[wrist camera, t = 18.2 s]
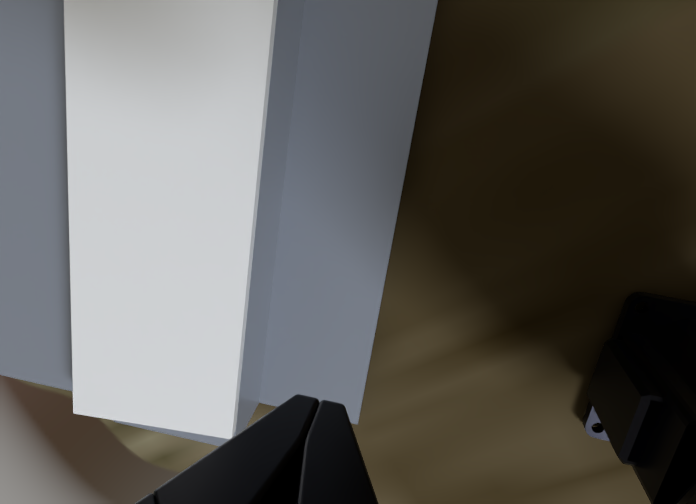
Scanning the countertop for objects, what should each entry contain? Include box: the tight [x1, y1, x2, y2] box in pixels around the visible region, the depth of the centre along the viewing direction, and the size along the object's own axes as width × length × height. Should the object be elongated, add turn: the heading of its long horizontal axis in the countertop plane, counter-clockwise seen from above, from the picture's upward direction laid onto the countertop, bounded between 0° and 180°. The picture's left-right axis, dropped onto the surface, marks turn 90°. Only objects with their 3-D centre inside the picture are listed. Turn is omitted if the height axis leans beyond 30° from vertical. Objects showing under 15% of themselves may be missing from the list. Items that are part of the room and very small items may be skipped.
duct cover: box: [64, 0, 278, 439], centre depth 16 cm, size 6×24×1 cm, turn 171°
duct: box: [0, 0, 438, 446], centre depth 19 cm, size 17×26×4 cm, turn 171°
